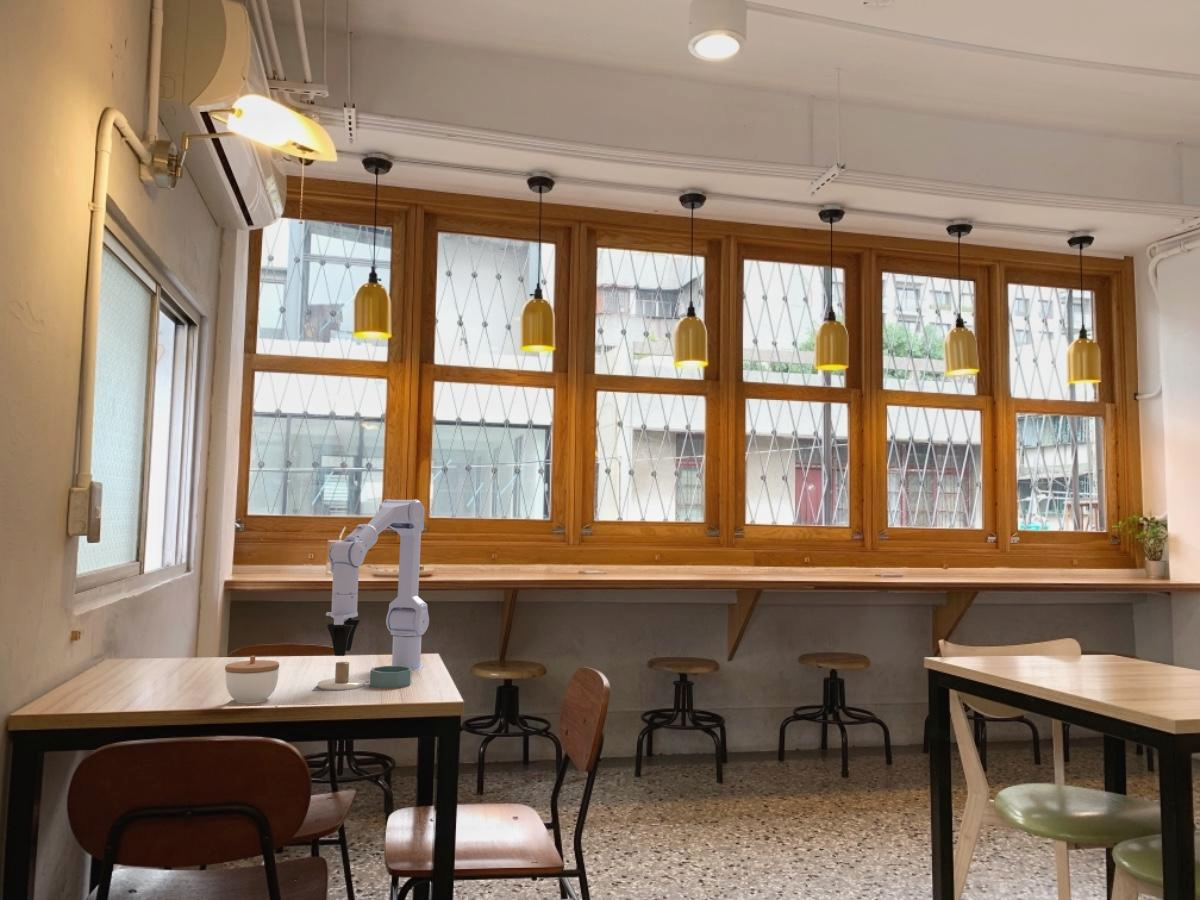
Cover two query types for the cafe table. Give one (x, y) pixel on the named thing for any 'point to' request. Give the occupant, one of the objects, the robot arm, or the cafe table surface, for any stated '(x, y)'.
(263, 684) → the lidded jar
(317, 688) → the mat
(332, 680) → the lid
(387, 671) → the bowl
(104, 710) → the cafe table surface
